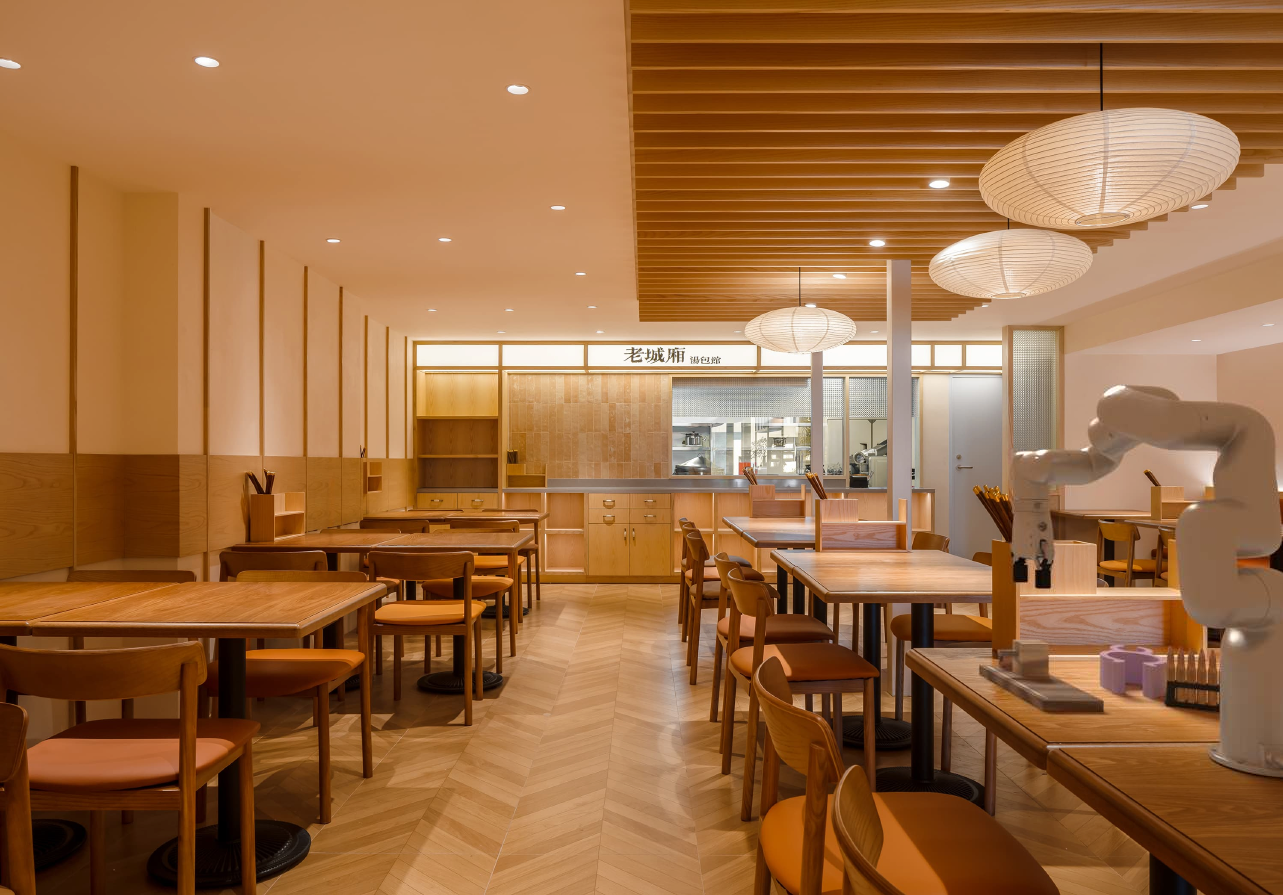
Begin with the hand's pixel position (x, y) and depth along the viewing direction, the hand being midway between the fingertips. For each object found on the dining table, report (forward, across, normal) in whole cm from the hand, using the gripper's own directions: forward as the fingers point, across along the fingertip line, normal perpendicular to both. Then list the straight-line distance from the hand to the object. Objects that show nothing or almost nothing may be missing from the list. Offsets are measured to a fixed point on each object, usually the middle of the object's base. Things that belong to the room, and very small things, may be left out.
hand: (1031, 585), depth 180 cm
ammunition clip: (+22, -18, -24) cm, 37 cm away
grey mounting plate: (+22, -6, +2) cm, 22 cm away
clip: (+22, -1, -22) cm, 31 cm away
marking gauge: (+19, 0, +2) cm, 20 cm away
